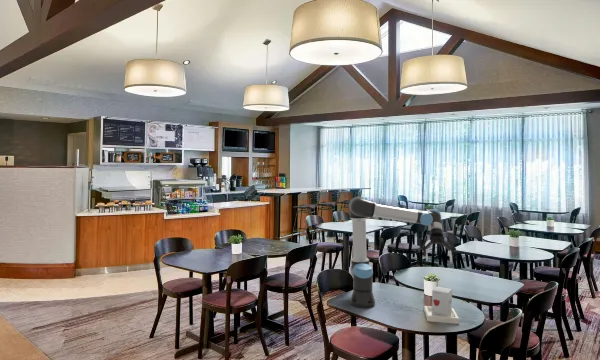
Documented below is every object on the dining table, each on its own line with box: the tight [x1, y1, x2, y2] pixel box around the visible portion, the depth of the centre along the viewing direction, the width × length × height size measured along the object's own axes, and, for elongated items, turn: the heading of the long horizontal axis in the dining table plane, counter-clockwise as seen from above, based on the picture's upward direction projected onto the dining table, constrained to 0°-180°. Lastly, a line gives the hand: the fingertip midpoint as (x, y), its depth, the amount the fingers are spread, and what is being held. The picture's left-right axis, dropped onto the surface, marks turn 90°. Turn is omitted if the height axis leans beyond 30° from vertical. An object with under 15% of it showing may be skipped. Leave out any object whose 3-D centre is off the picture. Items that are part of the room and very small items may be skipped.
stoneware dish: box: [423, 305, 460, 325], centre depth 220 cm, size 16×16×3 cm
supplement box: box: [431, 286, 453, 317], centre depth 219 cm, size 9×9×15 cm
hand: (439, 260), depth 230 cm, fingers open, 13 cm apart
